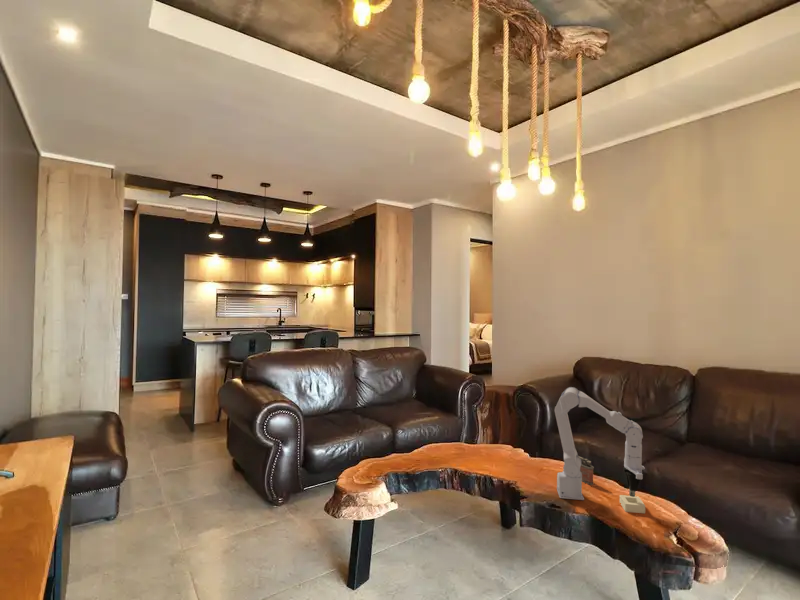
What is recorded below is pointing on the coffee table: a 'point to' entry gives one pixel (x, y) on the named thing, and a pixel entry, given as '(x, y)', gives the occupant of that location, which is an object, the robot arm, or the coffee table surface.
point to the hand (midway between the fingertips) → (632, 488)
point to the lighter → (586, 471)
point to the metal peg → (631, 493)
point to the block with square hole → (632, 504)
